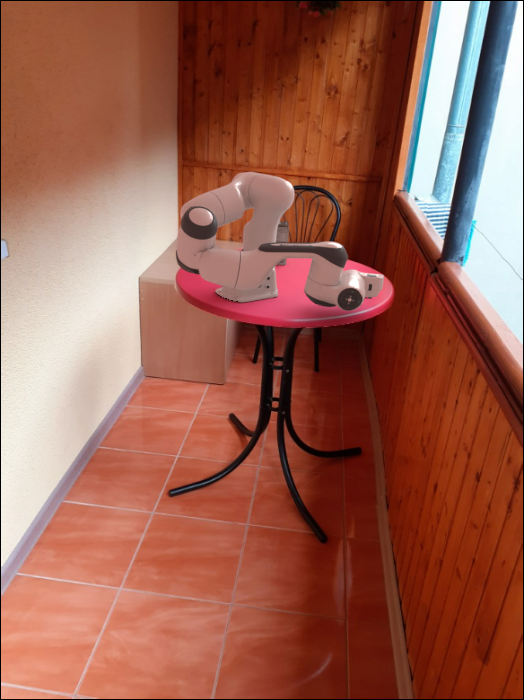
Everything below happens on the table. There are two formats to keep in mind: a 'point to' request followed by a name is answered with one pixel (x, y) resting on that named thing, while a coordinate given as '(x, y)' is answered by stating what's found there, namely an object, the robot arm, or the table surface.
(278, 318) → the table surface
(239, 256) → the robot arm
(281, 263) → the coffee box
